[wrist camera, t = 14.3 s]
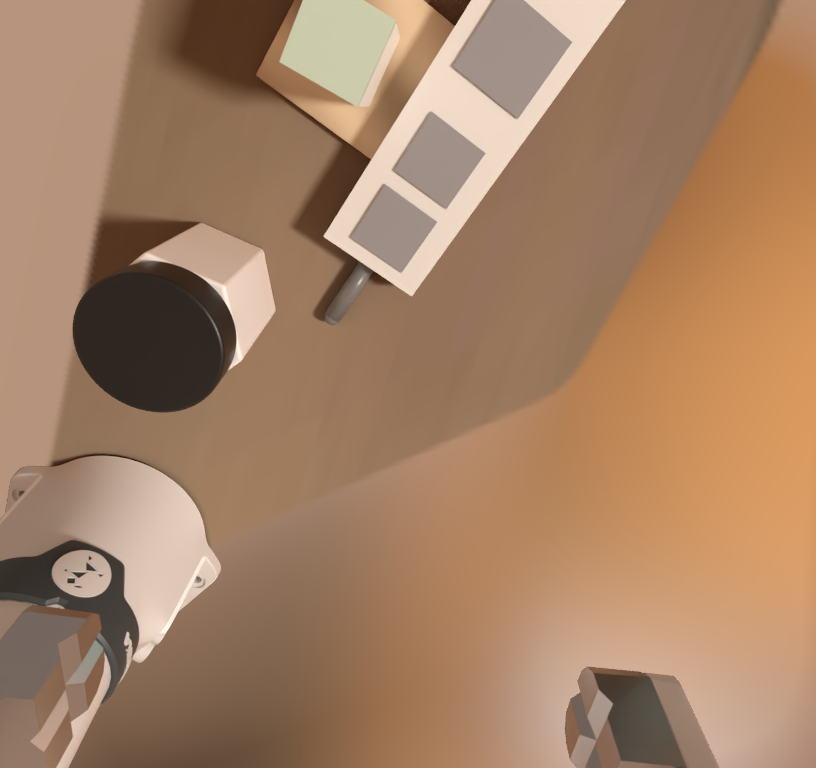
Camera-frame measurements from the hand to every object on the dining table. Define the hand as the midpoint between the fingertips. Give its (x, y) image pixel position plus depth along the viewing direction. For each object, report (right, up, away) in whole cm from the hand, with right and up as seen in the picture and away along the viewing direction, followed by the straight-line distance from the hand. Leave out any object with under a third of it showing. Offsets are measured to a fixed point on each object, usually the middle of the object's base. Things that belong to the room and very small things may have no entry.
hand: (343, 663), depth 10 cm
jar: (-13, +12, +32) cm, 37 cm away
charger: (-2, +25, +25) cm, 35 cm away
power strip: (+4, +20, +28) cm, 35 cm away
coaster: (-2, +25, +26) cm, 36 cm away
